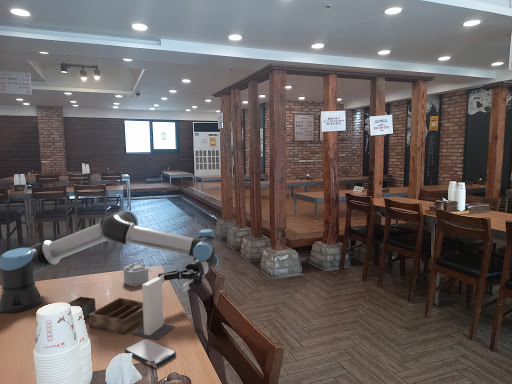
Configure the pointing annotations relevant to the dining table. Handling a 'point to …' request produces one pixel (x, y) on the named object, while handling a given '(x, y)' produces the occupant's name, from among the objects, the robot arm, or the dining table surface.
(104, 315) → the crate
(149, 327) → the cover plate
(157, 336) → the mat
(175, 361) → the dining table surface
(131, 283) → the lumpy-topped squat cylinder
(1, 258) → the robot arm
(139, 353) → the phone case
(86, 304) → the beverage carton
